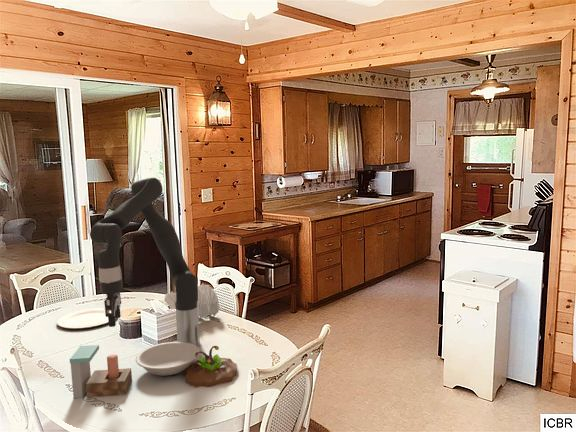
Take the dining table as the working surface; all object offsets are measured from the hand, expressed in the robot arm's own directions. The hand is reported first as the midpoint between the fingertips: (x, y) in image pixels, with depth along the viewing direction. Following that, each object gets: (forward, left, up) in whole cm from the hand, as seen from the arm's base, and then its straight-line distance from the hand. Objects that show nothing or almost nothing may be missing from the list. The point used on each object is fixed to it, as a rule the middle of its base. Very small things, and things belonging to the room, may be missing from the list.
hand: (115, 322), depth 170 cm
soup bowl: (-17, -7, -23) cm, 30 cm away
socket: (+2, +5, -23) cm, 24 cm away
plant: (-34, -2, -24) cm, 41 cm away
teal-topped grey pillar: (+10, +5, -23) cm, 25 cm away
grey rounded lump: (-22, -61, -23) cm, 69 cm away
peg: (+1, +5, -23) cm, 24 cm away
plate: (+32, -70, -24) cm, 81 cm away
